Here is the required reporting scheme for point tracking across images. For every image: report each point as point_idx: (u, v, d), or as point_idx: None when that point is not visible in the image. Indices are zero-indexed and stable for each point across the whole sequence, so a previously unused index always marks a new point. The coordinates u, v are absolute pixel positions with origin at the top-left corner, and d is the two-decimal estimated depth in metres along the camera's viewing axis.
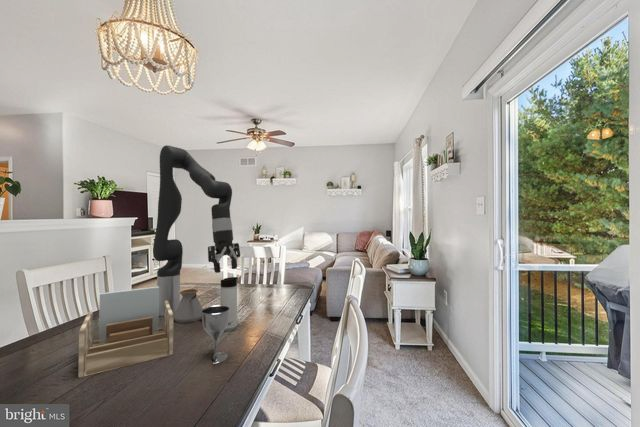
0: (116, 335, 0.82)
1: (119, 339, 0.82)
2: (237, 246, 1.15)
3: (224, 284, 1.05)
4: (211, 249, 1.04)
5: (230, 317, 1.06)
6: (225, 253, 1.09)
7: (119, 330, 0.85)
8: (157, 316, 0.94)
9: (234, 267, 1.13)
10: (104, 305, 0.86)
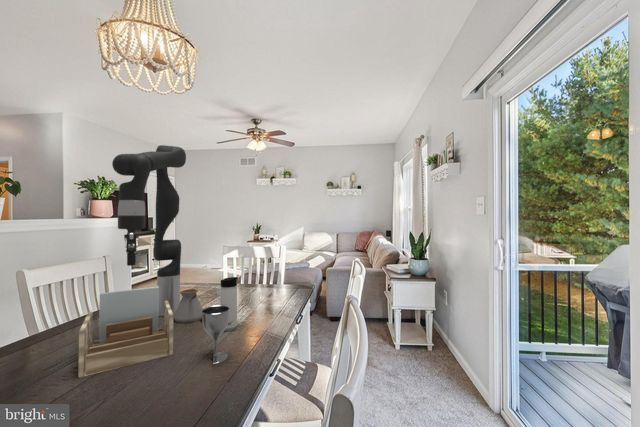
0: (116, 335, 0.82)
1: (119, 339, 0.82)
2: (126, 237, 0.85)
3: (224, 284, 1.05)
4: None
5: (230, 317, 1.06)
6: None
7: (119, 330, 0.85)
8: (157, 316, 0.94)
9: None
10: (104, 305, 0.86)
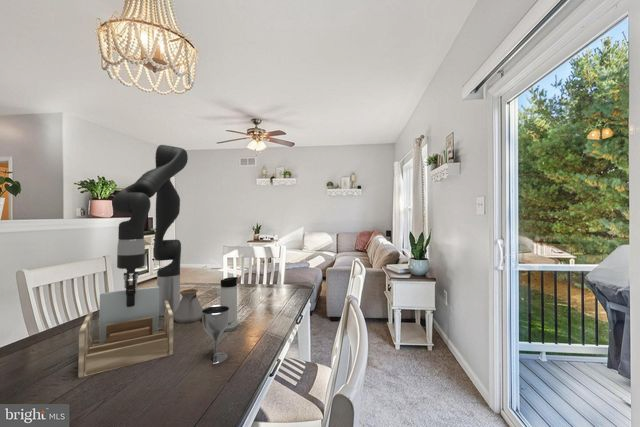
0: (116, 335, 0.82)
1: (119, 339, 0.82)
2: (126, 283, 0.86)
3: (224, 284, 1.05)
4: None
5: (230, 317, 1.06)
6: (127, 279, 0.90)
7: (119, 330, 0.85)
8: (157, 316, 0.94)
9: None
10: (104, 305, 0.86)
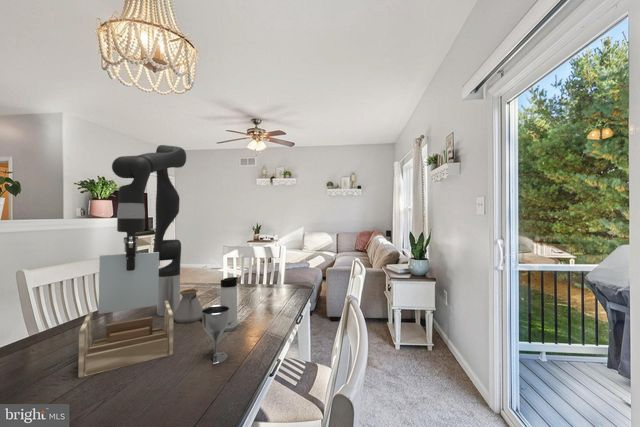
0: (116, 335, 0.82)
1: (119, 339, 0.82)
2: (126, 245, 0.86)
3: (224, 284, 1.05)
4: None
5: (230, 317, 1.06)
6: None
7: (119, 330, 0.85)
8: (157, 281, 0.94)
9: None
10: (104, 267, 0.86)
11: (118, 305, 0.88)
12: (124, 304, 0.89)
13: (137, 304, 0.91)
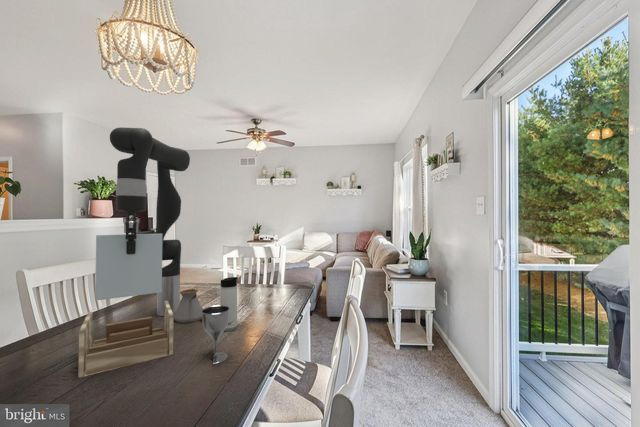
0: (116, 335, 0.82)
1: (119, 339, 0.82)
2: (125, 225, 0.77)
3: (224, 284, 1.05)
4: None
5: (230, 317, 1.06)
6: None
7: (119, 330, 0.85)
8: (160, 266, 0.85)
9: None
10: (101, 248, 0.77)
11: (117, 291, 0.79)
12: (124, 290, 0.80)
13: (139, 291, 0.82)
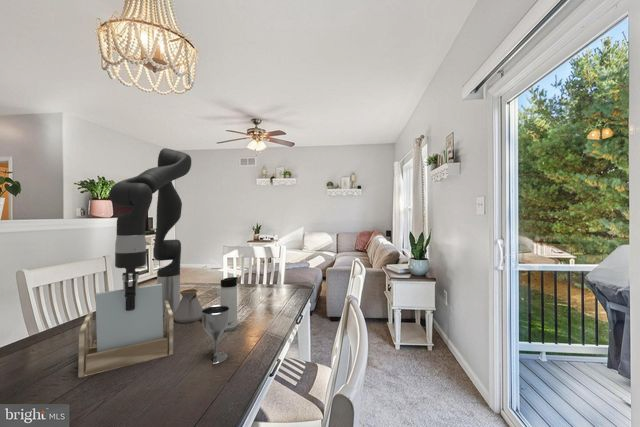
0: None
1: None
2: (125, 284, 0.76)
3: (224, 284, 1.05)
4: None
5: (230, 317, 1.06)
6: None
7: None
8: (161, 316, 0.85)
9: None
10: (101, 307, 0.77)
11: (119, 347, 0.79)
12: (126, 345, 0.80)
13: None
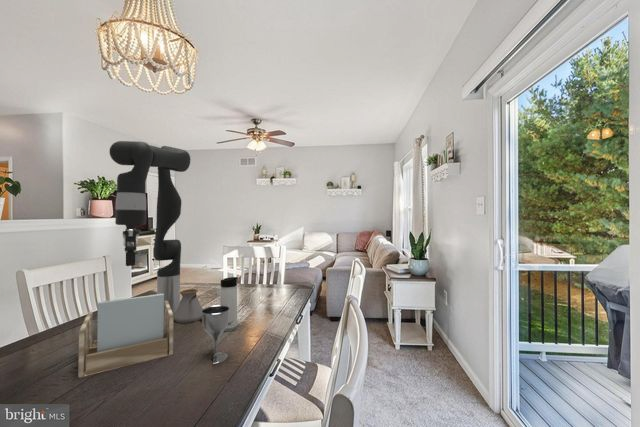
0: None
1: None
2: None
3: (224, 284, 1.05)
4: None
5: (230, 317, 1.06)
6: None
7: None
8: (162, 327, 0.85)
9: None
10: (103, 316, 0.77)
11: None
12: None
13: None
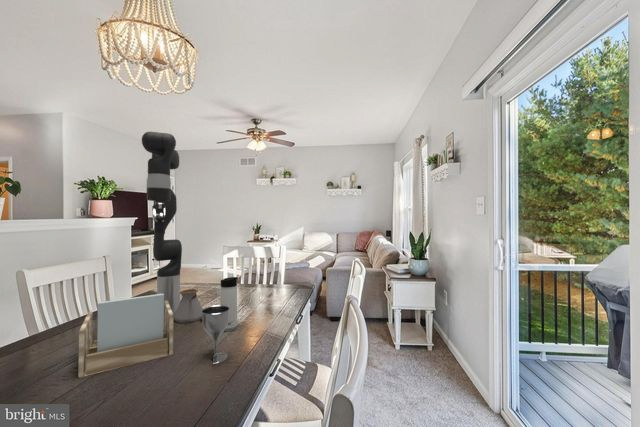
0: None
1: None
2: (155, 207, 0.94)
3: (224, 284, 1.05)
4: None
5: (230, 317, 1.06)
6: None
7: None
8: (162, 327, 0.85)
9: None
10: (103, 316, 0.77)
11: None
12: None
13: None
